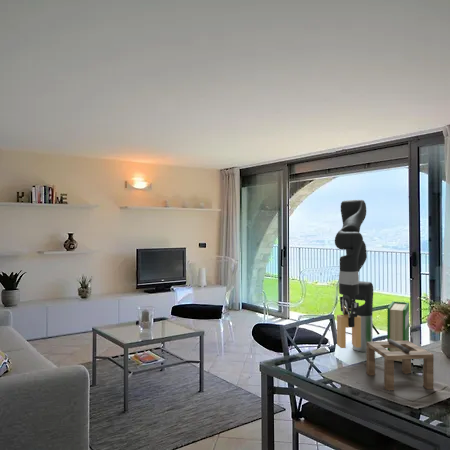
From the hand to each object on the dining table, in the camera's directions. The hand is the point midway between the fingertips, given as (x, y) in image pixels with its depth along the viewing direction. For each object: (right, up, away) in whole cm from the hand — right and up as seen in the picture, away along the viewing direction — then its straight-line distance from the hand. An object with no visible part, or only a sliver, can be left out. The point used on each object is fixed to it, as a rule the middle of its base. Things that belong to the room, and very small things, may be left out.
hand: (348, 325), depth 166 cm
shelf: (+19, -22, -1) cm, 29 cm away
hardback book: (+31, -22, +28) cm, 47 cm away
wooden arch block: (0, -8, 0) cm, 8 cm away
